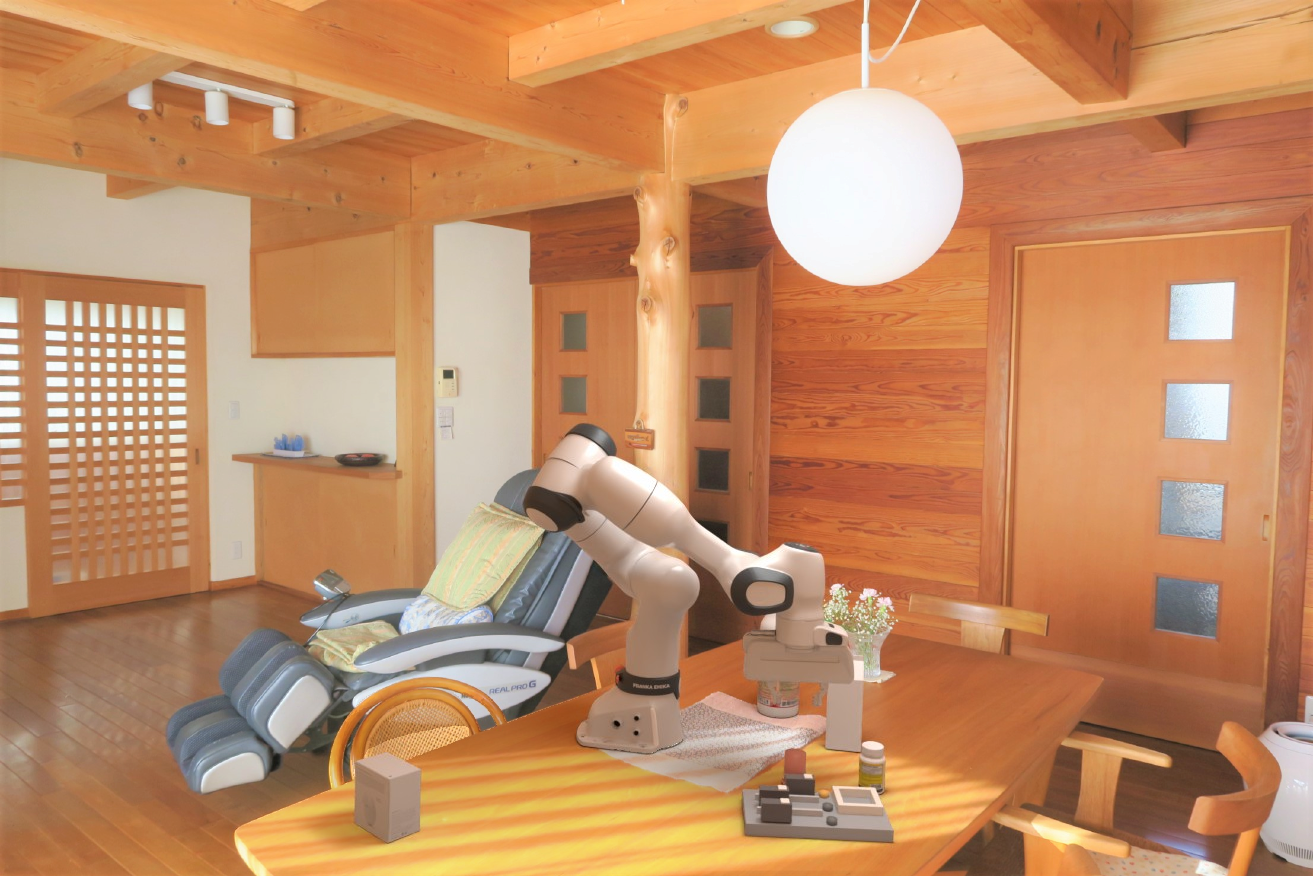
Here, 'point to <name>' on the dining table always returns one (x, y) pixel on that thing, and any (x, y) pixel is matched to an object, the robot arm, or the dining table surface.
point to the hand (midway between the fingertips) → (797, 704)
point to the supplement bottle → (872, 766)
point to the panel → (824, 816)
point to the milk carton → (846, 711)
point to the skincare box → (387, 796)
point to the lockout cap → (794, 762)
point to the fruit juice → (777, 688)
